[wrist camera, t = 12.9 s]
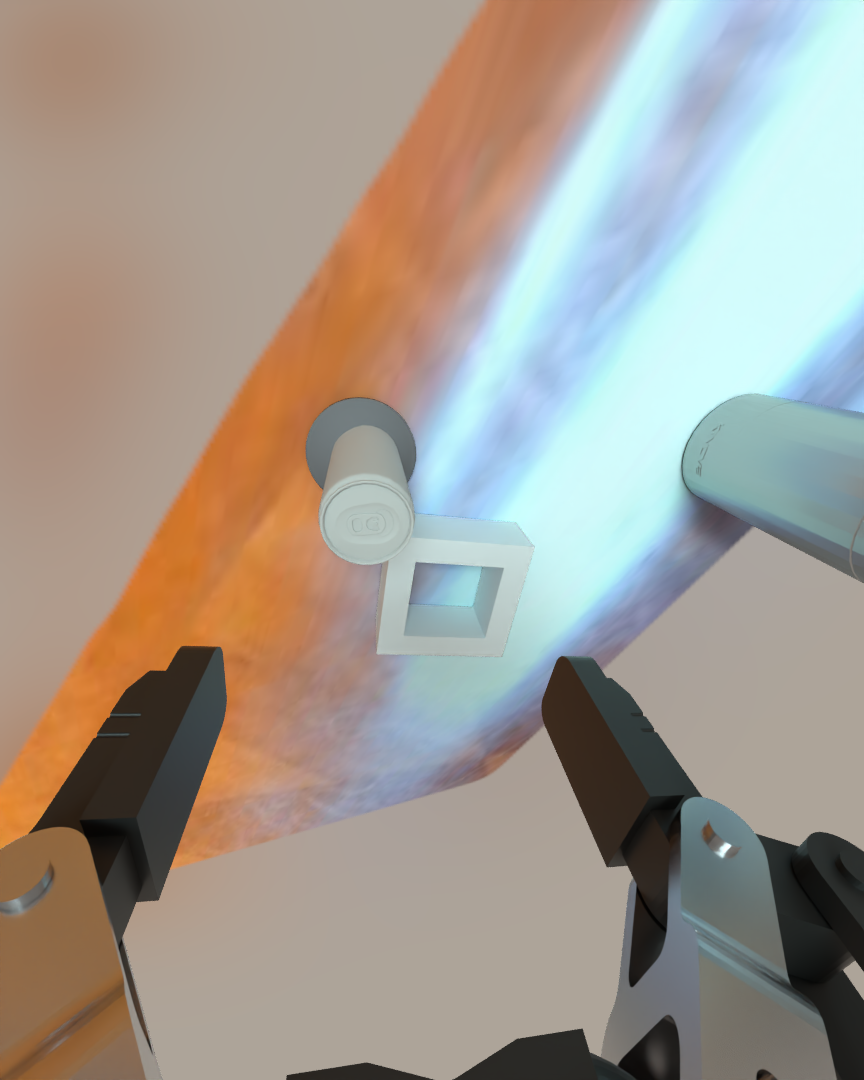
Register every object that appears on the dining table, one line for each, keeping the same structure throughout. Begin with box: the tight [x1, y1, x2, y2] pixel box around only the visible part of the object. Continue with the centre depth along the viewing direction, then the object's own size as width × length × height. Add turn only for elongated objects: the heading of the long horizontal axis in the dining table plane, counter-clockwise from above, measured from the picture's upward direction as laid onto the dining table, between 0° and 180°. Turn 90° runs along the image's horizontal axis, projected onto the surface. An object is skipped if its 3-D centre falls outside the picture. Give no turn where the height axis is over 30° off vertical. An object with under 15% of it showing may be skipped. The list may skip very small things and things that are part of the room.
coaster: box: [306, 397, 416, 489], centre depth 31 cm, size 8×8×1 cm
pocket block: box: [375, 513, 535, 657], centre depth 35 cm, size 11×11×4 cm
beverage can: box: [319, 425, 415, 565], centre depth 26 cm, size 5×5×12 cm
